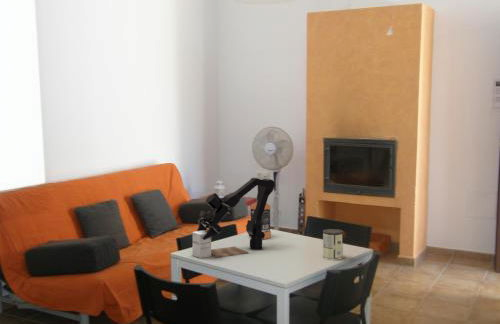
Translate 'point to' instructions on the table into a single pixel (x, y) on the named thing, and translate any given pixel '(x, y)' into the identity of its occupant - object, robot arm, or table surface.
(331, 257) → the coffee can
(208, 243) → the supplement box
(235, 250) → the walnut board
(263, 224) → the whiskey bottle
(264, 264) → the table surface
